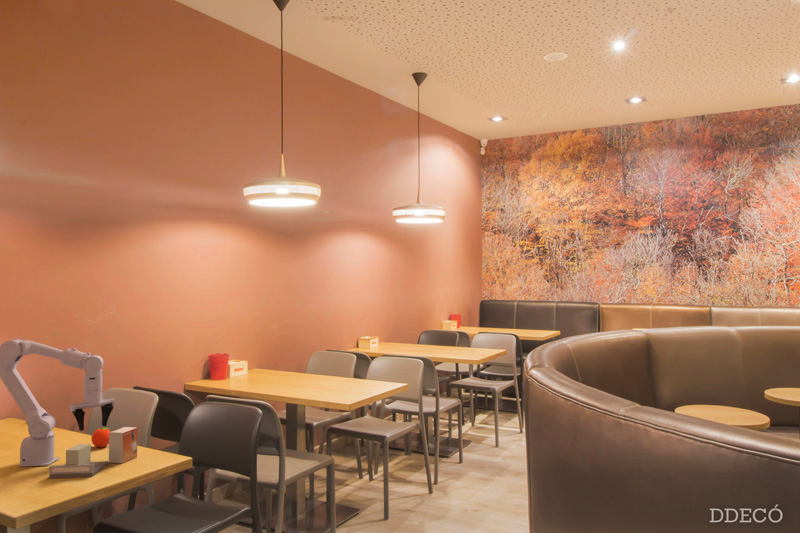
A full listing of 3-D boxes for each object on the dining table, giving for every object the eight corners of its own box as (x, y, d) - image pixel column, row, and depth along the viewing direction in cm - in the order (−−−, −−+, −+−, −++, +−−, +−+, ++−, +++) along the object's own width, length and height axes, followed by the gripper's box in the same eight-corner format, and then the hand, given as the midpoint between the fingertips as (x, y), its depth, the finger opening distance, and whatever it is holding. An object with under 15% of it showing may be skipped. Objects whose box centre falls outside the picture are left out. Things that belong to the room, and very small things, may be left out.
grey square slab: (48, 478, 176) (49, 466, 176) (68, 466, 188) (68, 455, 188) (92, 476, 177) (92, 465, 178) (108, 464, 190) (108, 453, 190)
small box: (122, 464, 190) (122, 432, 191) (108, 463, 191) (108, 432, 192) (137, 456, 198) (138, 427, 199) (124, 456, 199) (124, 426, 200)
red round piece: (111, 442, 217) (111, 424, 217) (117, 446, 212) (117, 427, 212) (88, 447, 211) (89, 428, 211) (94, 450, 206) (94, 431, 206)
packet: (65, 472, 178) (65, 450, 179) (78, 465, 185) (78, 444, 186) (78, 472, 178) (78, 450, 179) (90, 465, 185) (90, 443, 186)
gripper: (109, 385, 207) (109, 422, 206) (66, 391, 195) (66, 430, 195) (118, 387, 202) (117, 425, 202) (74, 393, 191) (74, 433, 190)
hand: (93, 428), depth 198 cm, fingers open, 7 cm apart
